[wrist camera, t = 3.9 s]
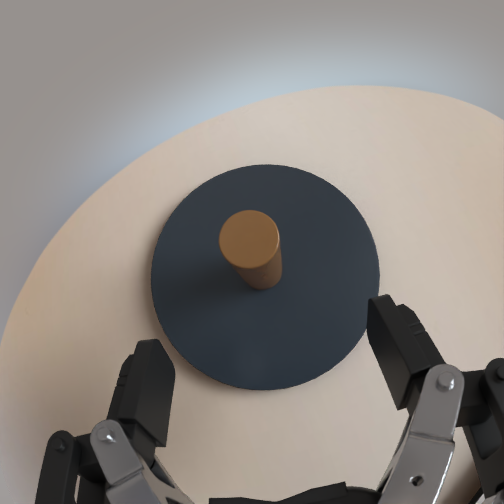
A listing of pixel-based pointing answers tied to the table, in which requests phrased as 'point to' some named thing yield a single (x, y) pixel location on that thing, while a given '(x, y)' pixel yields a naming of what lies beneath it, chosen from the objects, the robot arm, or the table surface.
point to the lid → (264, 277)
